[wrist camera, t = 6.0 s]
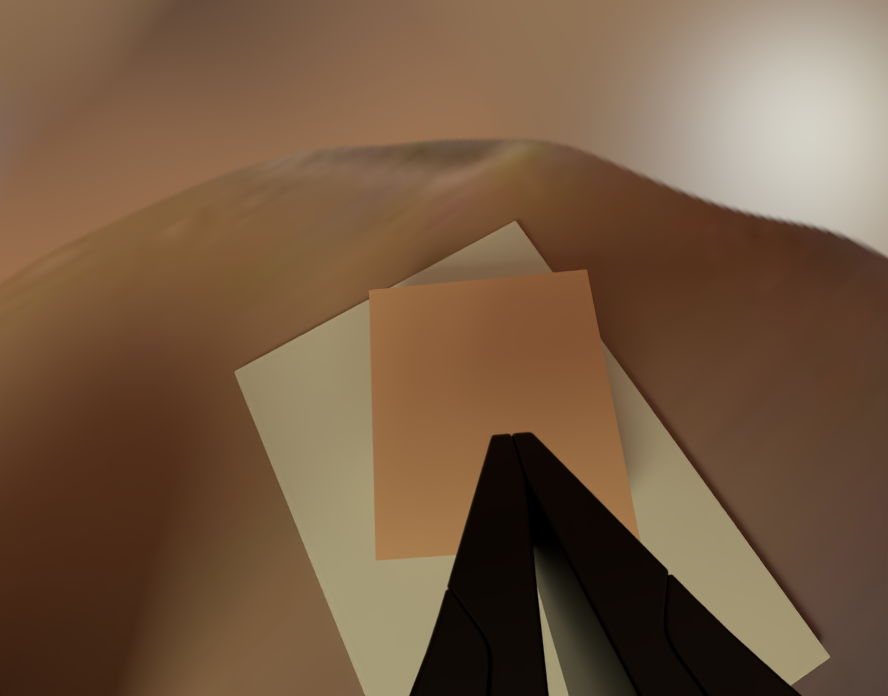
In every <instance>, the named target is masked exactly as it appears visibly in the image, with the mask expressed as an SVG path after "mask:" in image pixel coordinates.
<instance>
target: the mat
mask: <svg viewBox="0 0 888 696" xmlns="http://www.w3.org/2000/svg"><path fill="white" fill-rule="evenodd" d="M544 273H553V272H552V271H551V269H550V268H549V266H548V265H547V264H546V262H545V261H544V259H543V258H542V257H541V255H540V254H539V252H538V251H537V250H536V248H535V247H534V246H533V244H532V243H531V241H530V240H529V239H528V237H527V236H526V234H525V233H524V232H523V230H522V229H521V228H520V226H519V225H518V223H517V222H516V221H514V222H512V223H510V224H508V225H506V226H504V227H502V228H501V229H499V230H497V231H495V232H493V233H491V234H489V235H488V236H486V237H484V238H482V239H480V240H478V241H476V242H475V243H473V244H471V245H469V246H467V247H465V248H463V249H461V250H460V251H458V252H456V253H454V254H452V255H450V256H448V257H447V258H445V259H443V260H441V261H439V262H437V263H435V264H433V265H432V266H430V267H428V268H426V269H424V270H422V271H420V272H419V273H417V274H415V275H413V276H411V277H409V278H407V279H406V280H404V281H402V282H400V283H398V284H396V285H394V286H392V287H391V288H395V287H406V286H416V285H427V284H437V283H448V282H459V281H469V280H480V279H490V278H501V277H512V276H522V275H533V274H544ZM600 339H601V338H600ZM601 344H602V349H603V354H604V359H605V364H606V369H607V374H608V379H609V384H610V389H611V395H612V400H613V405H614V410H615V415H616V420H617V425H618V430H619V435H620V440H621V445H622V450H623V456H624V461H625V466H626V471H627V476H628V481H629V486H630V491H631V496H632V501H633V506H634V511H635V517H636V522H637V527H638V532H639V537H640V542H641V543H642V544H643V545H644V546H645V547H646V548H647V549H648V550H649V551H650V552H651V553H652V554H653V555H654V556H655V557H656V558H657V559H658V560H659V561H660V562H661V563H662V564H663V565H664V566H665V567H666V568H667V570H668V575H669V574H672V575H674V576H675V577H676V578H677V579H678V580H679V581H680V582H681V583H682V584H683V586H684V587H685V588H686V589H687V590H688V591H689V592H690V593H691V594H692V595H693V596H694V597H695V598H696V599H697V600H698V601H699V602H700V603H702V604H703V605H704V606H705V607H706V608H707V609H708V610H709V611H710V612H711V613H712V614H713V615H714V616H715V617H716V618H717V619H718V620H719V621H720V622H721V623H722V624H723V625H724V626H725V627H726V628H727V629H728V630H729V631H730V632H731V633H732V634H734V635H735V636H736V637H737V638H738V639H739V640H740V641H741V642H742V643H743V644H745V645H746V646H747V647H748V648H749V649H750V650H751V651H752V652H753V653H754V654H756V655H757V656H758V657H759V658H760V659H761V660H762V661H763V662H764V663H766V664H767V665H768V666H769V667H770V668H771V669H772V670H773V671H774V672H776V673H777V674H778V675H779V676H780V677H781V678H782V679H783V680H785V681H786V682H787V683H788V684H789V685H792V684H793V683H795V682H796V681H798V680H799V679H800V678H802V677H803V676H805V675H806V674H807V673H809V672H810V671H812V670H813V669H815V668H816V667H817V666H819V665H820V664H822V663H823V662H824V661H826V660H827V659H829V658H830V656H829V655H828V653H827V652H826V651H825V649H824V648H823V646H822V645H821V644H820V642H819V641H818V639H817V638H816V637H815V635H814V634H813V633H812V631H811V630H810V628H809V627H808V626H807V624H806V623H805V621H804V620H803V619H802V617H801V616H800V614H799V613H798V612H797V610H796V609H795V608H794V606H793V605H792V603H791V602H790V601H789V599H788V598H787V596H786V595H785V594H784V592H783V591H782V590H781V588H780V587H779V585H778V584H777V583H776V581H775V580H774V578H773V577H772V576H771V574H770V573H769V571H768V570H767V569H766V567H765V566H764V565H763V563H762V562H761V560H760V559H759V558H758V556H757V555H756V553H755V552H754V551H753V549H752V548H751V547H750V545H749V544H748V542H747V541H746V540H745V538H744V537H743V535H742V534H741V533H740V531H739V530H738V529H737V527H736V526H735V524H734V523H733V522H732V520H731V519H730V517H729V516H728V515H727V513H726V512H725V510H724V509H723V508H722V506H721V505H720V504H719V502H718V501H717V499H716V498H715V497H714V495H713V494H712V492H711V491H710V490H709V488H708V487H707V486H706V484H705V483H704V481H703V480H702V479H701V477H700V476H699V474H698V473H697V472H696V470H695V469H694V467H693V466H692V465H691V463H690V462H689V461H688V459H687V458H686V456H685V455H684V454H683V452H682V451H681V449H680V448H679V447H678V445H677V444H676V443H675V441H674V440H673V438H672V437H671V436H670V434H669V433H668V431H667V430H666V429H665V427H664V426H663V424H662V423H661V422H660V420H659V419H658V418H657V416H656V415H655V413H654V412H653V411H652V409H651V408H650V406H649V405H648V404H647V402H646V401H645V400H644V398H643V397H642V395H641V394H640V393H639V391H638V390H637V388H636V387H635V386H634V384H633V383H632V381H631V380H630V379H629V377H628V376H627V375H626V373H625V372H624V370H623V369H622V368H621V366H620V365H619V363H618V362H617V361H616V359H615V358H614V357H613V355H612V354H611V352H610V351H609V350H608V348H607V347H606V345H605V344H604V343H603V341H602V340H601ZM234 373H235V376H236V378H237V381H238V383H239V386H240V388H241V390H242V393H243V395H244V398H245V400H246V403H247V405H248V408H249V410H250V413H251V415H252V418H253V420H254V422H255V425H256V427H257V430H258V432H259V435H260V437H261V440H262V442H263V445H264V447H265V450H266V452H267V454H268V457H269V459H270V462H271V464H272V467H273V469H274V472H275V474H276V477H277V479H278V482H279V484H280V487H281V489H282V491H283V494H284V496H285V499H286V501H287V504H288V506H289V509H290V511H291V514H292V516H293V519H294V521H295V523H296V526H297V528H298V531H299V533H300V536H301V538H302V541H303V543H304V546H305V548H306V551H307V553H308V555H309V558H310V560H311V563H312V565H313V568H314V570H315V573H316V575H317V578H318V580H319V583H320V585H321V587H322V590H323V592H324V595H325V597H326V600H327V602H328V605H329V607H330V610H331V612H332V615H333V617H334V620H335V622H336V624H337V627H338V629H339V632H340V634H341V637H342V639H343V642H344V644H345V647H346V649H347V652H348V654H349V656H350V659H351V661H352V664H353V666H354V669H355V671H356V674H357V676H358V679H359V681H360V684H361V686H362V688H363V691H364V693H365V696H409V694H410V692H411V689H412V687H413V684H414V681H415V679H416V676H417V674H418V671H419V668H420V666H421V663H422V661H423V658H424V656H425V653H426V650H427V647H428V644H429V641H430V638H431V635H432V632H433V629H434V626H435V623H436V620H437V617H438V614H439V610H440V607H441V603H442V600H443V597H444V593H445V591H446V590H447V589H448V588H447V584H448V581H449V577H450V574H451V571H452V567H453V564H454V560H455V557H456V555H450V556H435V557H421V558H406V559H392V560H377V561H376V555H375V514H374V473H373V432H372V391H371V350H370V309H369V299H368V300H366V301H365V302H363V303H361V304H359V305H357V306H355V307H353V308H351V309H350V310H348V311H346V312H344V313H342V314H340V315H338V316H337V317H335V318H333V319H331V320H329V321H327V322H325V323H323V324H322V325H320V326H318V327H316V328H314V329H312V330H310V331H309V332H307V333H305V334H303V335H301V336H299V337H297V338H296V339H294V340H292V341H290V342H288V343H286V344H284V345H282V346H281V347H279V348H277V349H275V350H273V351H271V352H269V353H268V354H266V355H264V356H262V357H260V358H258V359H256V360H254V361H253V362H251V363H249V364H247V365H245V366H243V367H241V368H240V369H238V370H236V371H234ZM537 589H538V588H537ZM538 598H539V608H540V617H541V626H542V636H543V645H544V654H545V663H546V673H547V682H548V691H549V696H569V695H568V691H567V688H566V684H565V681H564V677H563V674H562V670H561V667H560V664H559V660H558V657H557V653H556V650H555V646H554V643H553V639H552V636H551V632H550V629H549V626H548V622H547V619H546V615H545V612H544V608H543V605H542V601H541V598H540V594H539V591H538Z"/></svg>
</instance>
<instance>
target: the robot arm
mask: <svg viewBox="0 0 888 696" xmlns="http://www.w3.org/2000/svg"><path fill="white" fill-rule="evenodd" d="M447 588H448V589H447V590H446V591H445V593H444V597H443V600H442V603H441V607H440V610H439V614H438V617H437V620H436V623H435V626H434V629H433V632H432V635H431V638H430V641H429V644H428V647H427V650H426V653H425V656H424V658H423V661H422V663H421V666H420V668H419V671H418V674H417V676H416V679H415V681H414V684H413V687H412V689H411V692H410V694H409V696H549V691H548V682H547V673H546V663H545V654H544V645H543V636H542V626H541V617H540V608H539V598H538V591H539V594H540V598H541V601H542V605H543V608H544V612H545V615H546V619H547V622H548V626H549V629H550V632H551V636H552V639H553V643H554V646H555V650H556V653H557V657H558V660H559V664H560V667H561V670H562V674H563V677H564V681H565V684H566V688H567V691H568V695H569V696H802V695H801V694H799V693H798V692H797V691H796V690H795V689H794V688H793V687H791V686H790V685H789V684H788V683H787V682H786V681H785V680H783V679H782V678H781V677H780V676H779V675H778V674H777V673H776V672H774V671H773V670H772V669H771V668H770V667H769V666H768V665H767V664H766V663H764V662H763V661H762V660H761V659H760V658H759V657H758V656H757V655H756V654H754V653H753V652H752V651H751V650H750V649H749V648H748V647H747V646H746V645H745V644H743V643H742V642H741V641H740V640H739V639H738V638H737V637H736V636H735V635H734V634H732V633H731V632H730V631H729V630H728V629H727V628H726V627H725V626H724V625H723V624H722V623H721V622H720V621H719V620H718V619H717V618H716V617H715V616H714V615H713V614H712V613H711V612H710V611H709V610H708V609H707V608H706V607H705V606H704V605H703V604H702V603H700V602H699V601H698V600H697V599H696V598H695V597H694V596H693V595H692V594H691V593H690V592H689V591H688V590H687V589H686V588H685V587H684V586H683V584H682V583H681V582H680V581H679V580H678V579H677V578H676V577H675V576H674V575H672V574H669V575H668V570H667V568H666V567H665V566H664V565H663V564H662V563H661V562H660V561H659V560H658V559H657V558H656V557H655V556H654V555H653V554H652V553H651V552H650V551H649V550H648V549H647V548H646V547H645V546H644V545H643V544H642V543H641V542H640V541H639V540H638V539H637V538H636V537H635V536H634V535H633V534H632V533H631V532H630V531H629V530H628V529H627V528H626V527H625V526H624V525H623V524H622V523H621V522H620V521H619V520H618V519H617V518H616V517H615V516H614V515H613V514H612V513H611V512H610V511H609V510H608V509H607V508H606V507H605V506H604V505H603V504H602V503H601V502H600V501H599V500H598V499H597V497H596V496H595V495H594V494H593V493H592V492H591V491H590V490H589V489H588V488H587V487H586V486H585V485H584V484H583V483H582V482H581V481H580V480H579V479H578V478H577V477H576V476H575V475H574V474H573V473H572V472H571V471H570V470H569V469H568V468H567V467H566V466H565V465H564V464H563V463H562V462H561V461H560V460H559V459H558V458H557V457H556V456H555V455H554V454H553V453H552V452H551V451H550V450H549V449H548V448H547V447H546V446H545V445H544V444H543V443H542V442H541V441H540V440H539V439H538V438H537V437H536V436H535V435H534V434H533V433H532V432H519V433H514V434H512V436H511V434H509V433H506V434H494V435H492V436H491V439H490V442H489V445H488V449H487V452H486V455H485V459H484V462H483V466H482V469H481V472H480V476H479V479H478V483H477V486H476V489H475V493H474V496H473V499H472V503H471V506H470V510H469V513H468V516H467V520H466V523H465V527H464V530H463V533H462V537H461V540H460V544H459V547H458V550H457V554H456V557H455V560H454V564H453V567H452V571H451V574H450V577H449V581H448V584H447ZM537 588H538V589H537Z"/></svg>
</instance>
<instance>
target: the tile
mask: <svg viewBox="0 0 888 696" xmlns="http://www.w3.org/2000/svg"><path fill="white" fill-rule="evenodd" d="M369 309H370V350H371V391H372V432H373V473H374V514H375V555H376V561H377V560H392V559H406V558H421V557H435V556H450V555H456V554H457V550H458V547H459V544H460V540H461V537H462V533H463V530H464V527H465V523H466V520H467V516H468V513H469V510H470V506H471V503H472V499H473V496H474V493H475V489H476V486H477V483H478V479H479V476H480V472H481V469H482V466H483V462H484V459H485V455H486V452H487V449H488V445H489V442H490V439H491V436H492V435H494V434H506V433H509V434H511V436H512V434H514V433H519V432H532V433H533V434H534V435H535V436H536V437H537V438H538V439H539V440H540V441H541V442H542V443H543V444H544V445H545V446H546V447H547V448H548V449H549V450H550V451H551V452H552V453H553V454H554V455H555V456H556V457H557V458H558V459H559V460H560V461H561V462H562V463H563V464H564V465H565V466H566V467H567V468H568V469H569V470H570V471H571V472H572V473H573V474H574V475H575V476H576V477H577V478H578V479H579V480H580V481H581V482H582V483H583V484H584V485H585V486H586V487H587V488H588V489H589V490H590V491H591V492H592V493H593V494H594V495H595V496H596V497H597V499H598V500H599V501H600V502H601V503H602V504H603V505H604V506H605V507H606V508H607V509H608V510H609V511H610V512H611V513H612V514H613V515H614V516H615V517H616V518H617V519H618V520H619V521H620V522H621V523H622V524H623V525H624V526H625V527H626V528H627V529H628V530H629V531H630V532H631V533H632V534H633V535H634V536H635V537H636V538H637V539H638V540H639V541H640V537H639V532H638V527H637V522H636V517H635V511H634V506H633V501H632V496H631V491H630V486H629V481H628V476H627V471H626V466H625V461H624V456H623V450H622V445H621V440H620V435H619V430H618V425H617V420H616V415H615V410H614V405H613V400H612V395H611V389H610V384H609V379H608V374H607V369H606V364H605V359H604V354H603V349H602V344H601V339H600V334H599V328H598V323H597V318H596V313H595V308H594V303H593V298H592V293H591V288H590V283H589V278H588V273H587V269H586V270H575V271H565V272H554V273H544V274H533V275H522V276H512V277H501V278H490V279H480V280H469V281H459V282H448V283H437V284H427V285H416V286H406V287H395V288H384V289H374V290H369Z"/></svg>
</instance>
